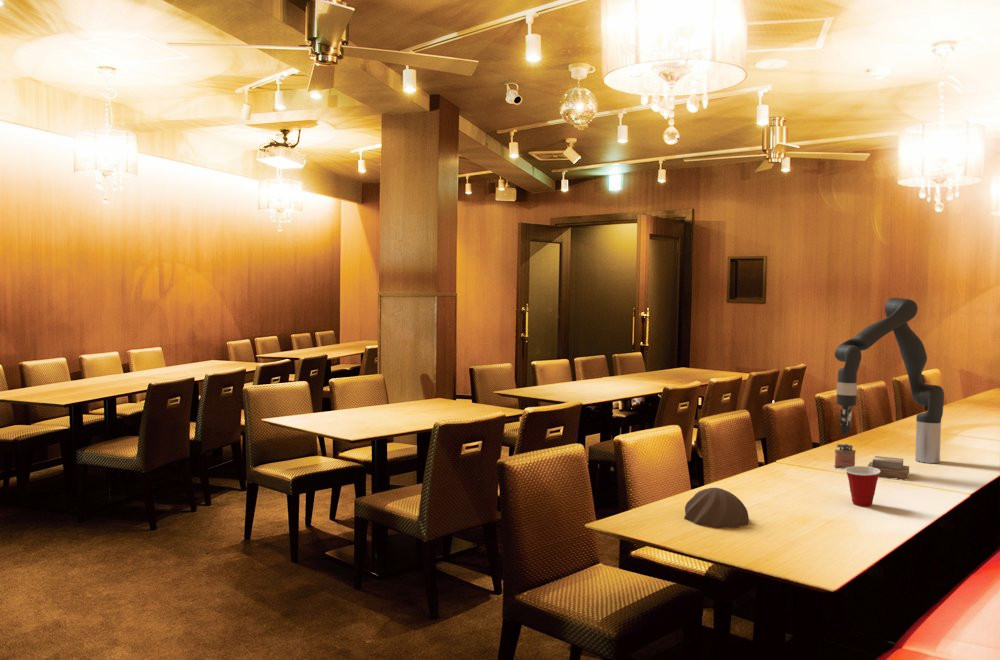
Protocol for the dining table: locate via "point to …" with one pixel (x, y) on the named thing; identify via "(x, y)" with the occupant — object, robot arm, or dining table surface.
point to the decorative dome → (716, 509)
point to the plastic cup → (862, 484)
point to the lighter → (844, 456)
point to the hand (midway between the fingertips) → (845, 432)
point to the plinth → (893, 472)
